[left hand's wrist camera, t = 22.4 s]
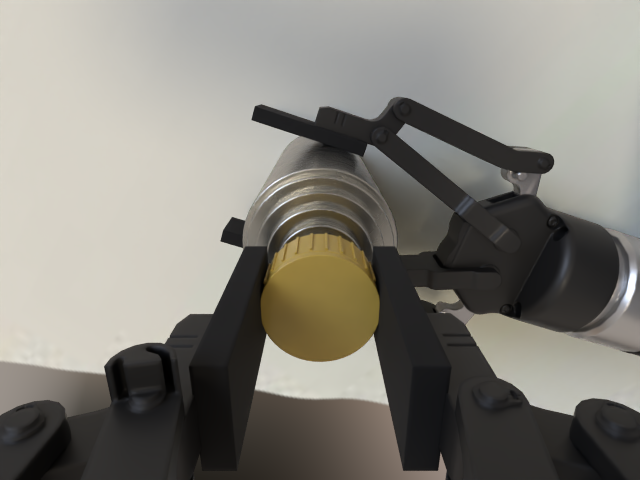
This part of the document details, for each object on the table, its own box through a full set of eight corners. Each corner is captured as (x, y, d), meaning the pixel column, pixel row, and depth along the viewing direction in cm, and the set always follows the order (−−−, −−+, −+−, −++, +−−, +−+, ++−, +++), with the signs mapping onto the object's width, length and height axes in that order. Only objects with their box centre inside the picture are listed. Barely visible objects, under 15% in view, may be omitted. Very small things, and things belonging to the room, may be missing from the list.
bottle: (364, 215, 33) (422, 380, 14) (280, 220, 33) (230, 389, 15) (362, 128, 31) (428, 191, 12) (272, 134, 31) (200, 204, 12)
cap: (373, 329, 15) (381, 362, 13) (269, 331, 15) (262, 364, 13) (376, 230, 14) (384, 252, 12) (261, 233, 14) (252, 255, 12)
